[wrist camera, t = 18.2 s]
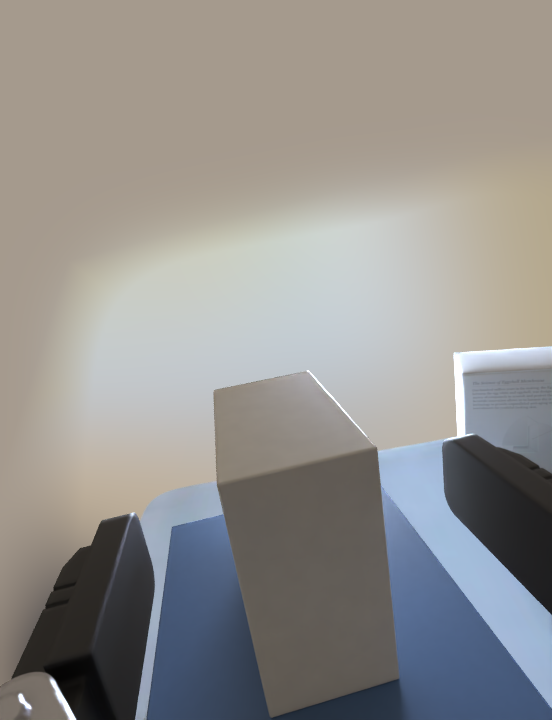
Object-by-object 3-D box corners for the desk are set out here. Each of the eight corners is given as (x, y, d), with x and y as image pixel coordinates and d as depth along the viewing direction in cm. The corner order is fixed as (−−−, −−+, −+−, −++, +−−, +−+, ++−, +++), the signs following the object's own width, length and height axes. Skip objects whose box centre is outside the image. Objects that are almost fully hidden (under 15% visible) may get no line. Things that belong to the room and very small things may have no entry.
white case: (270, 719, 13) (216, 484, 11) (247, 549, 21) (212, 389, 18) (400, 679, 14) (378, 446, 11) (331, 528, 21) (309, 370, 19)
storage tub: (183, 1067, 11) (117, 931, 9) (196, 617, 25) (171, 526, 24) (579, 907, 13) (593, 761, 11) (384, 566, 27) (375, 477, 25)
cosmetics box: (584, 453, 35) (591, 340, 32) (620, 498, 29) (632, 365, 27) (456, 451, 39) (452, 349, 36) (465, 491, 33) (462, 373, 30)
